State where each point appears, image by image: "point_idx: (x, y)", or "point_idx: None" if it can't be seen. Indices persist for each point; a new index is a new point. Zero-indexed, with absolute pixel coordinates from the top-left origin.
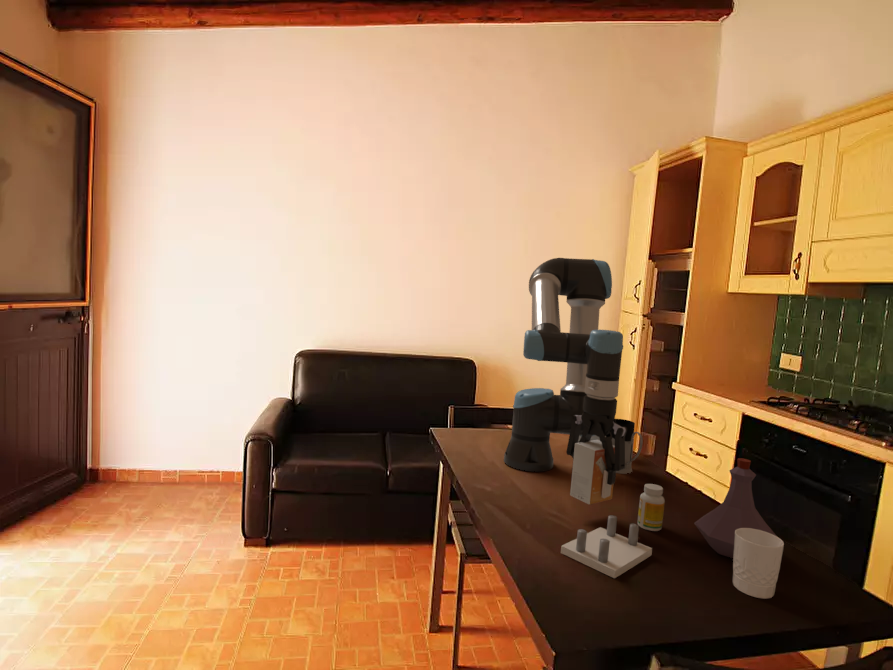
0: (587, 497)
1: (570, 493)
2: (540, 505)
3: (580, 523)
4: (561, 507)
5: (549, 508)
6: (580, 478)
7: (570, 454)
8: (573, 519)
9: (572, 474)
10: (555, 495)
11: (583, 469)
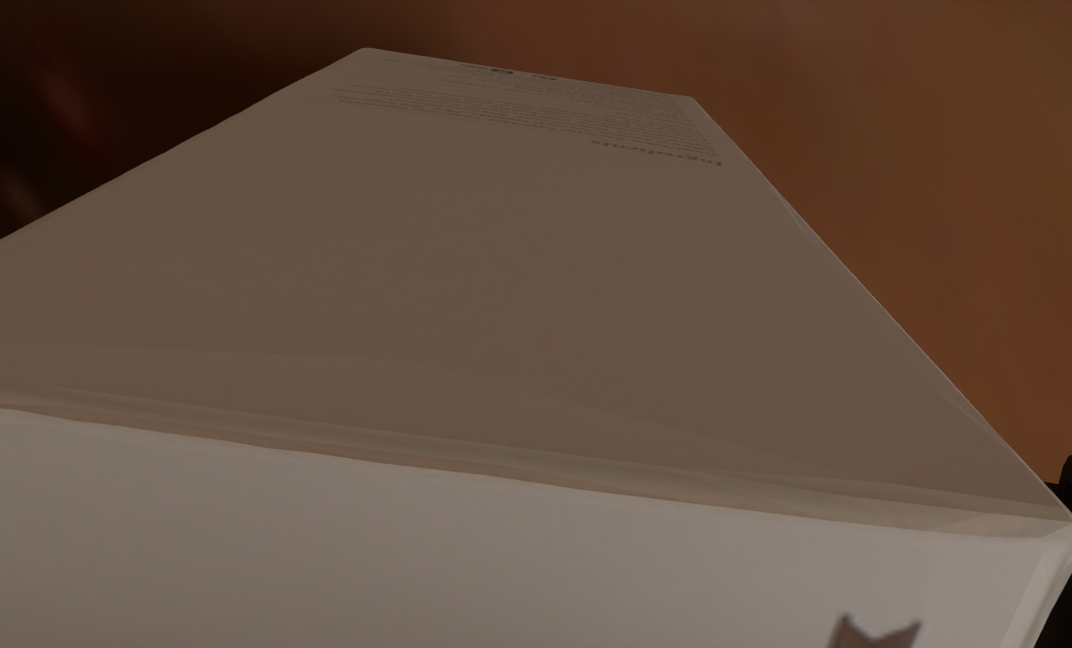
0: (392, 60)
1: (691, 99)
2: (993, 22)
3: (476, 3)
4: (811, 173)
5: (884, 41)
6: (539, 119)
7: (1060, 485)
8: (573, 25)
9: (736, 152)
10: (997, 364)
11: (475, 157)
